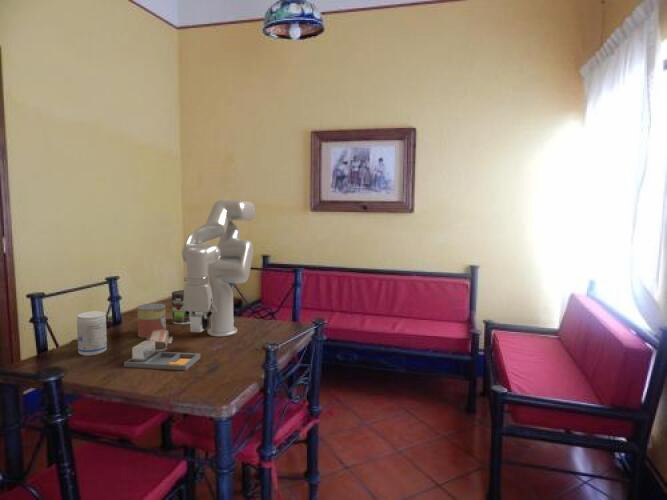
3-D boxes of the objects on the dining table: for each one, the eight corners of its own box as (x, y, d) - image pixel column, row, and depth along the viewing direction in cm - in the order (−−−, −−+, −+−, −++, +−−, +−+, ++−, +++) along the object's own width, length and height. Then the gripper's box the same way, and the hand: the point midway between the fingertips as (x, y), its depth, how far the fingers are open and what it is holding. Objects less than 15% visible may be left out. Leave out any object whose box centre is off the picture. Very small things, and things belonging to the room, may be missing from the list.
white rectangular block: (199, 324, 175) (198, 309, 174) (209, 325, 174) (208, 310, 173) (190, 331, 167) (189, 316, 166) (200, 332, 166) (200, 316, 165)
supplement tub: (74, 352, 168) (72, 314, 166) (100, 346, 175) (98, 309, 174) (85, 358, 162) (83, 318, 160) (111, 351, 169) (110, 313, 167)
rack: (142, 356, 164) (142, 349, 164) (200, 359, 162) (200, 352, 161) (123, 369, 152) (123, 360, 152) (185, 372, 150) (185, 364, 149)
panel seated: (145, 356, 162) (144, 340, 161) (155, 357, 161) (155, 341, 161) (132, 364, 154) (132, 347, 153) (143, 365, 154) (143, 348, 153)
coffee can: (188, 325, 205) (188, 295, 204) (168, 323, 207) (167, 294, 205) (199, 319, 215) (198, 290, 214) (179, 318, 217) (178, 289, 216)
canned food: (162, 337, 187) (161, 309, 186) (134, 338, 186) (133, 309, 184) (168, 329, 198) (168, 303, 197) (142, 330, 197) (141, 303, 195)
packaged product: (146, 329, 183) (172, 327, 186) (147, 340, 184) (173, 339, 186) (140, 343, 166) (168, 341, 169) (140, 355, 167) (169, 353, 169)
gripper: (171, 282, 165) (174, 330, 168) (215, 284, 163) (217, 332, 166) (180, 277, 172) (183, 323, 175) (222, 279, 170) (224, 325, 173)
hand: (199, 327), depth 170 cm, fingers closed on white rectangular block, 4 cm apart
